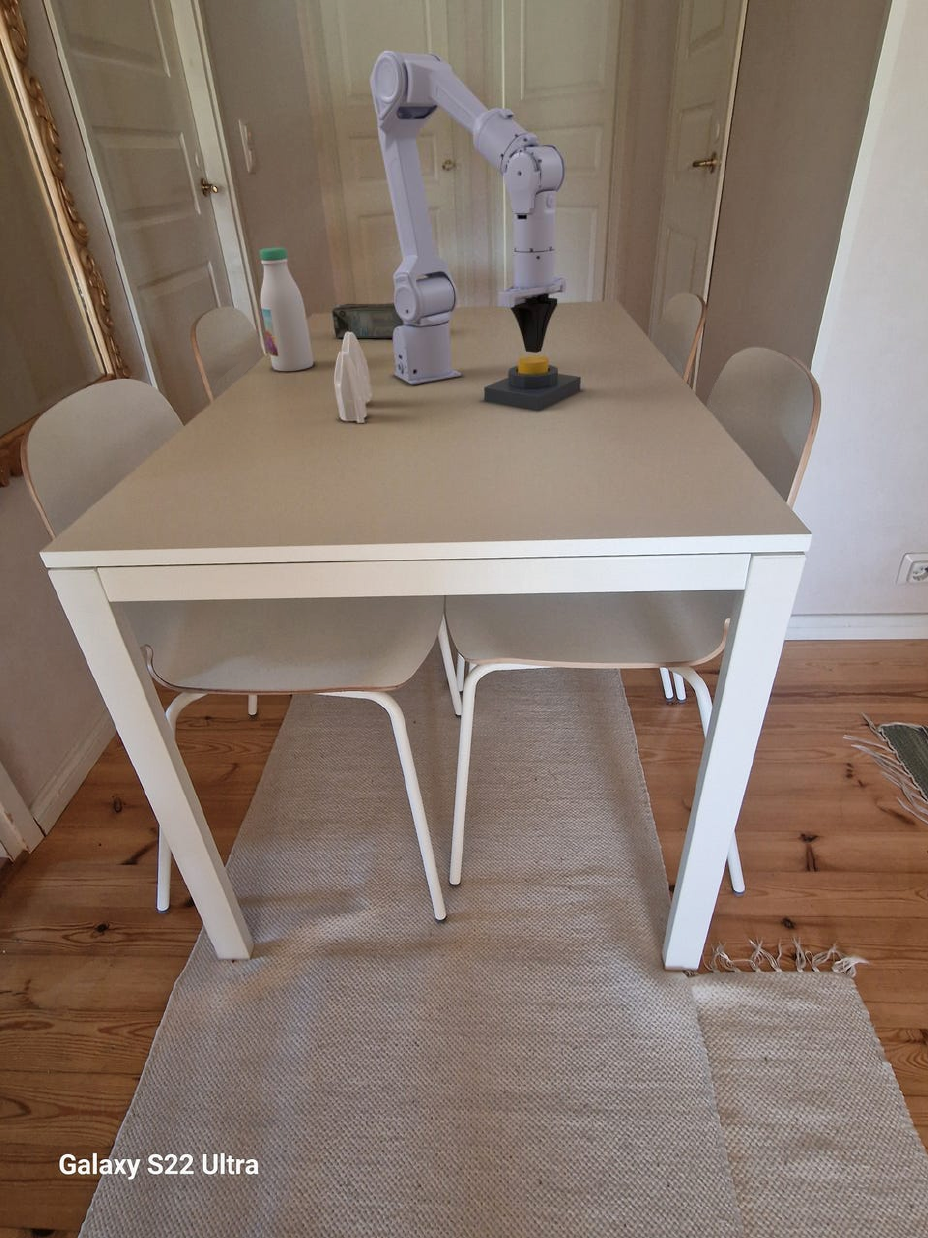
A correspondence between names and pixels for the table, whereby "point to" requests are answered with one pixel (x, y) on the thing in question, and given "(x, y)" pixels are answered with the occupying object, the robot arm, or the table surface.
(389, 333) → the beverage carton
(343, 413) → the white pointed piece
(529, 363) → the button
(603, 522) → the table surface
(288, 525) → the table surface
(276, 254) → the milk bottle
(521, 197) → the robot arm
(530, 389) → the grey button base
